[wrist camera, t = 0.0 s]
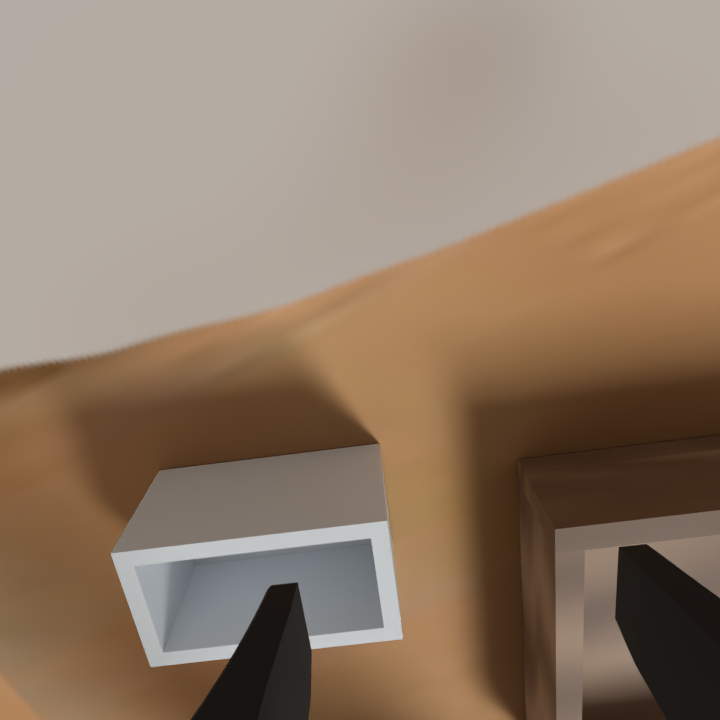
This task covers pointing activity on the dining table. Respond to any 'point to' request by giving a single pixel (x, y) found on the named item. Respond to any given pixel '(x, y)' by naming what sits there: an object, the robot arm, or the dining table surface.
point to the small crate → (260, 552)
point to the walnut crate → (605, 565)
